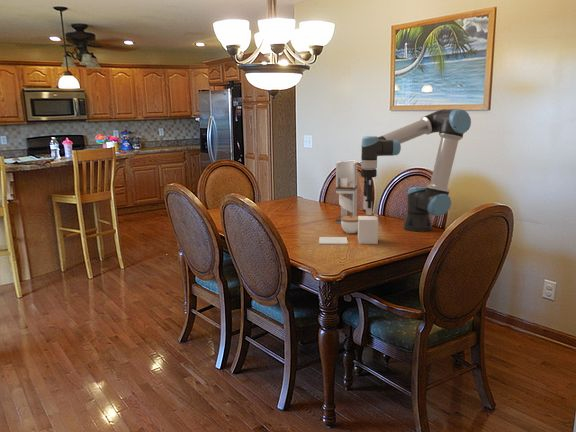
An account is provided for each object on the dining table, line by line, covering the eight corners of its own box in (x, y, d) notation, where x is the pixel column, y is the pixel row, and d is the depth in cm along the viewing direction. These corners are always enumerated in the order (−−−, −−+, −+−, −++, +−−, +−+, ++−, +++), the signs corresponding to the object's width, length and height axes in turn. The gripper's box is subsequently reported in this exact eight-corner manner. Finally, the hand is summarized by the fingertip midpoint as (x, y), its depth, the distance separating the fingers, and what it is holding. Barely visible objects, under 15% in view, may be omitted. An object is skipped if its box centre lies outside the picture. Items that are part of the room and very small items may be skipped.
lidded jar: (345, 235, 247) (345, 217, 245) (337, 230, 257) (337, 213, 255) (364, 233, 250) (364, 216, 248) (356, 229, 260) (356, 212, 258)
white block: (375, 239, 238) (376, 215, 236) (377, 243, 230) (378, 219, 227) (357, 238, 239) (357, 215, 236) (359, 243, 230) (359, 219, 228)
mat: (346, 238, 241) (346, 237, 241) (347, 244, 229) (347, 243, 229) (319, 238, 242) (319, 237, 242) (319, 244, 230) (319, 243, 230)
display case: (339, 219, 284) (339, 161, 277) (356, 219, 282) (357, 161, 274) (335, 223, 274) (336, 163, 266) (353, 224, 271) (354, 163, 263)
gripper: (358, 165, 239) (357, 206, 243) (363, 171, 215) (362, 217, 219) (373, 166, 238) (372, 207, 243) (380, 171, 214) (378, 217, 219)
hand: (367, 211), depth 231 cm, fingers open, 13 cm apart
